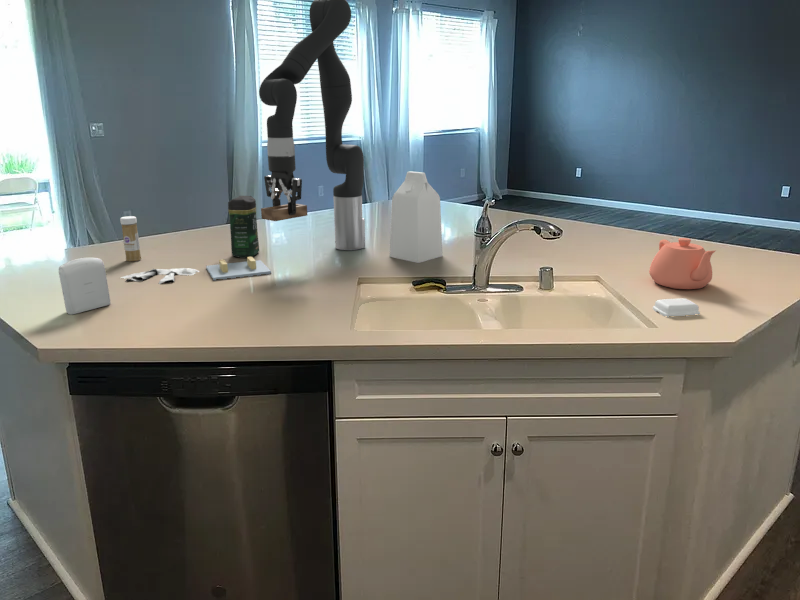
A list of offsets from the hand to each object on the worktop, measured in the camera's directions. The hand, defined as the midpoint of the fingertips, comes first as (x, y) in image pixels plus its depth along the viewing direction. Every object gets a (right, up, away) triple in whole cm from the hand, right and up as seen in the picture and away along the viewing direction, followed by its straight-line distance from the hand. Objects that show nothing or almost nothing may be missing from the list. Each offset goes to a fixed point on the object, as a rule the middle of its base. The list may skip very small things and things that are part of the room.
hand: (284, 213), depth 185 cm
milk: (+38, -11, +16) cm, 43 cm away
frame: (0, -1, 0) cm, 1 cm away
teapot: (+107, -21, -15) cm, 111 cm away
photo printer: (-41, -27, -31) cm, 59 cm away
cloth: (-35, -20, -5) cm, 40 cm away
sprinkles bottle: (-49, -13, +14) cm, 53 cm away
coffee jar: (-16, -11, +19) cm, 27 cm away
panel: (-14, -17, 0) cm, 21 cm away
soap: (+97, -28, -36) cm, 108 cm away
